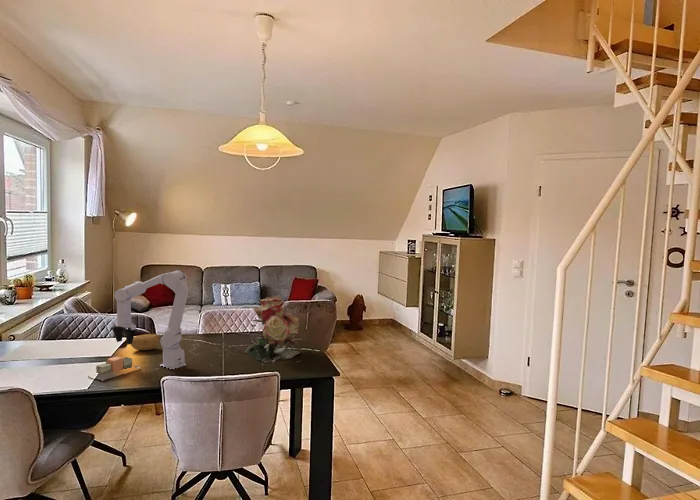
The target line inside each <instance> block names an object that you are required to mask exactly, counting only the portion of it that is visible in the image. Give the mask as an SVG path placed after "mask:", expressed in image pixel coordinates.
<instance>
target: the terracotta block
mask: <svg viewBox="0 0 700 500" xmlns="http://www.w3.org/2000/svg"><path fill="white" fill-rule="evenodd" d="M123 358H124V357H120V356H117V355H116V356H114V357H110V358H107V360H106V361H107V362H106V363H107V364H110V365H111V371H112V372H117V371H120V370H123Z"/></svg>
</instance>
